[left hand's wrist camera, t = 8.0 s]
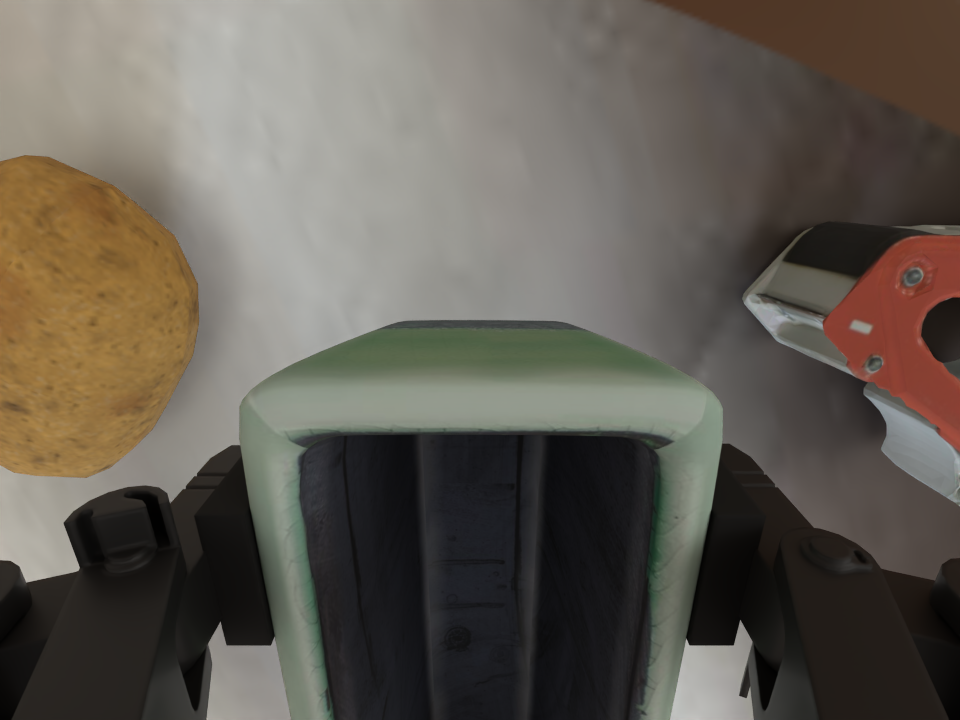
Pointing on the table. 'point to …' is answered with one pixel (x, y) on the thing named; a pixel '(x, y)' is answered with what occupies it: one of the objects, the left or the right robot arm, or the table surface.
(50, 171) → the potato
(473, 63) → the table surface
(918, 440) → the tape dispenser
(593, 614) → the planter
